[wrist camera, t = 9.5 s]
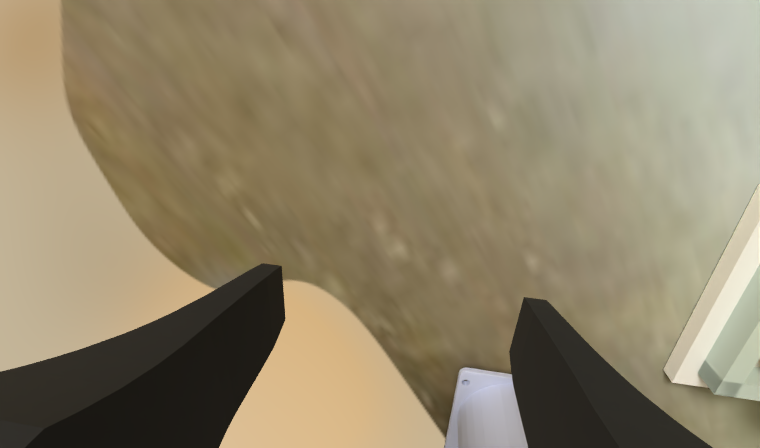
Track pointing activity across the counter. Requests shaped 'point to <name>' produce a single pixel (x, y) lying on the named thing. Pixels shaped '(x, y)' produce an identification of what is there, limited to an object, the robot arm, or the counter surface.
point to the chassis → (726, 320)
